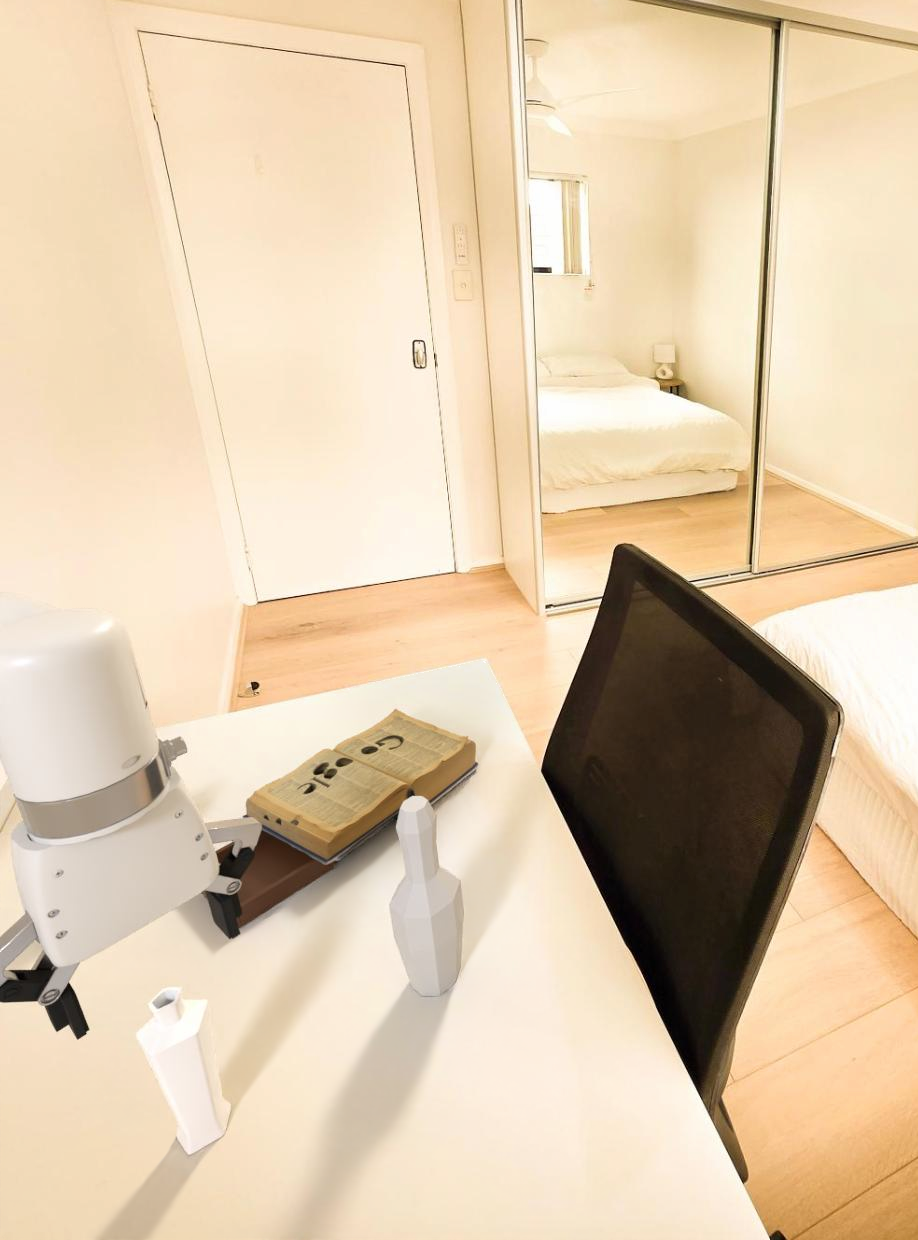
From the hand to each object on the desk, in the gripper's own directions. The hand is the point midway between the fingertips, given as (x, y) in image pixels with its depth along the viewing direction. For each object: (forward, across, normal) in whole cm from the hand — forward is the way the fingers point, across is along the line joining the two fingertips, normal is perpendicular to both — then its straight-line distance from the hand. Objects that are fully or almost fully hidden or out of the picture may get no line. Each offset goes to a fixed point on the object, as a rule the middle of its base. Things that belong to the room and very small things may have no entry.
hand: (157, 973), depth 52 cm
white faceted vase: (+18, 0, 0) cm, 18 cm away
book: (+18, -31, -26) cm, 44 cm away
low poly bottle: (+18, -20, +4) cm, 27 cm away
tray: (+18, -16, -24) cm, 34 cm away
